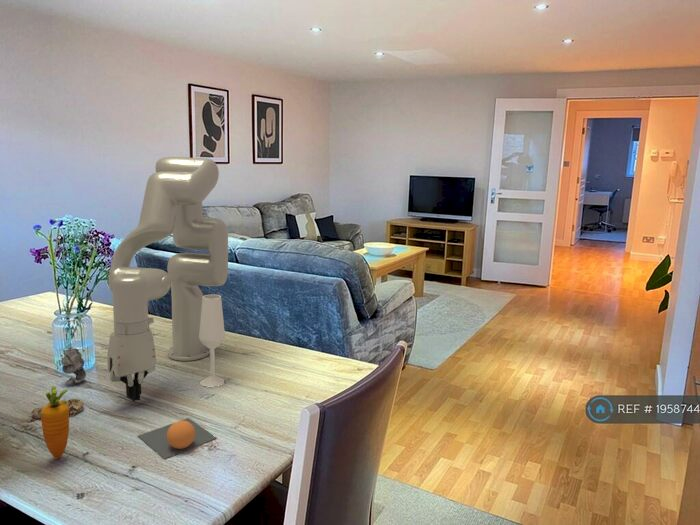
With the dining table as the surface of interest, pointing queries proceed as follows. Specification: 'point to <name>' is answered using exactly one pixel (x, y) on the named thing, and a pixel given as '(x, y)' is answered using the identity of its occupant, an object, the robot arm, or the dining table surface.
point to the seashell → (73, 365)
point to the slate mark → (161, 445)
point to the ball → (181, 434)
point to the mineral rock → (73, 404)
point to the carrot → (55, 423)
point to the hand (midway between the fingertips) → (134, 398)
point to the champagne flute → (212, 332)
